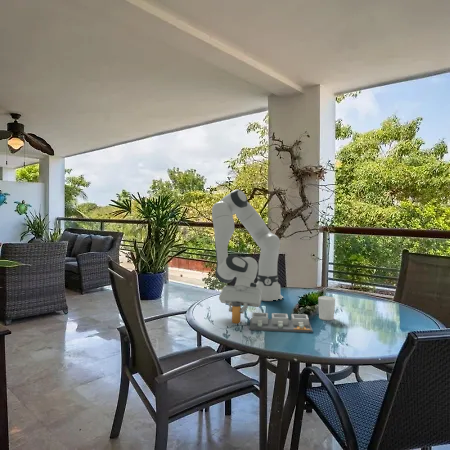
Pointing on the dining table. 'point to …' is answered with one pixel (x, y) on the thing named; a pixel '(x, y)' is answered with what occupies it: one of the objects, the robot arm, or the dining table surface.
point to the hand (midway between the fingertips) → (235, 312)
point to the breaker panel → (275, 327)
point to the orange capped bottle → (236, 312)
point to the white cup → (326, 307)
